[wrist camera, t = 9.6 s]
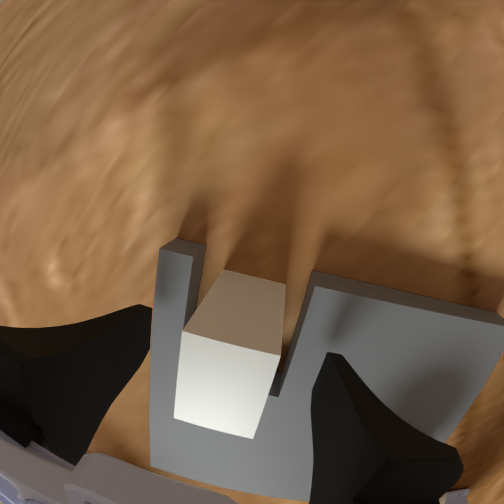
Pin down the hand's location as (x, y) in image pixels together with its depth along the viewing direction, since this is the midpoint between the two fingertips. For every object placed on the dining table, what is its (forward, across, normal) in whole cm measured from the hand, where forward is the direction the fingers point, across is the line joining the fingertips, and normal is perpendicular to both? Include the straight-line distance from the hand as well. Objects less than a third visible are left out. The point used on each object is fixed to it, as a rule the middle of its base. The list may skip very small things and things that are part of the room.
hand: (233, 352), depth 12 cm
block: (+3, 0, 0) cm, 3 cm away
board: (+3, -5, +5) cm, 8 cm away
